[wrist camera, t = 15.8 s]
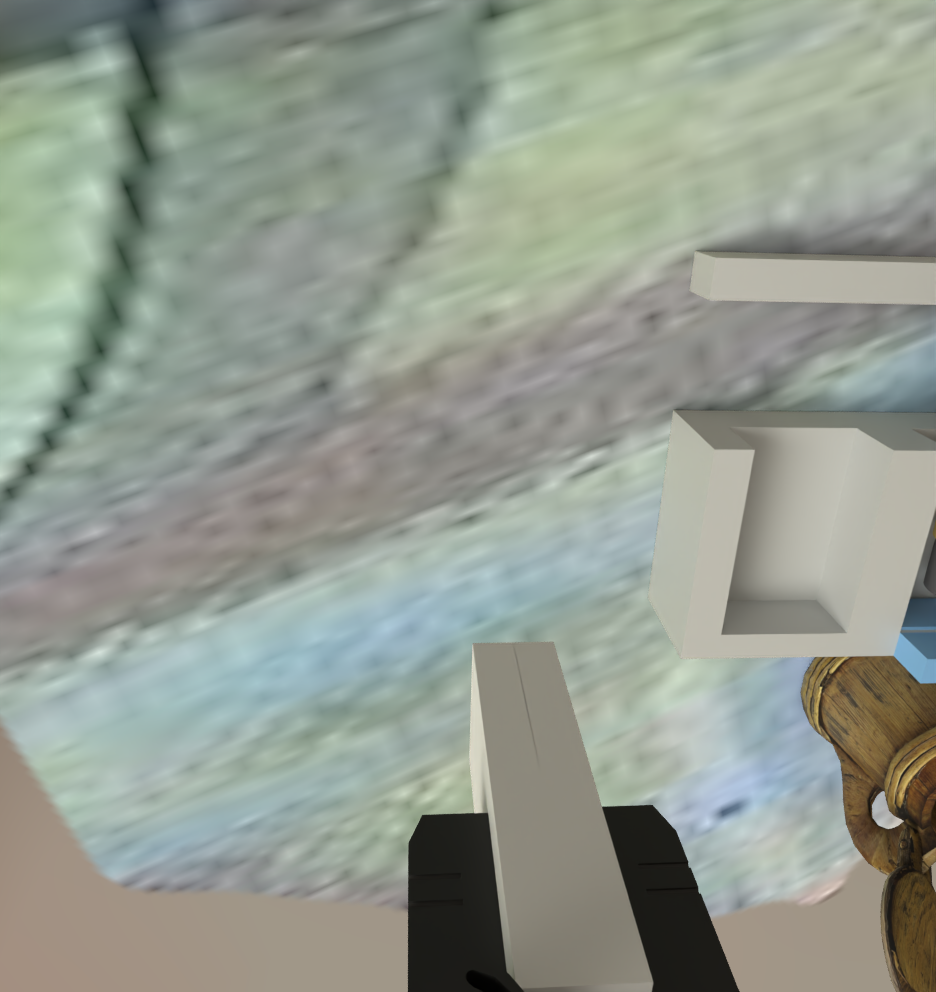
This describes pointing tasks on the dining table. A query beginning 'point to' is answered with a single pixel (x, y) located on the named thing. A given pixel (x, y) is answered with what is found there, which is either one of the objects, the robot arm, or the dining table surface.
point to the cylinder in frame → (800, 498)
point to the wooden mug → (886, 792)
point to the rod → (931, 568)
